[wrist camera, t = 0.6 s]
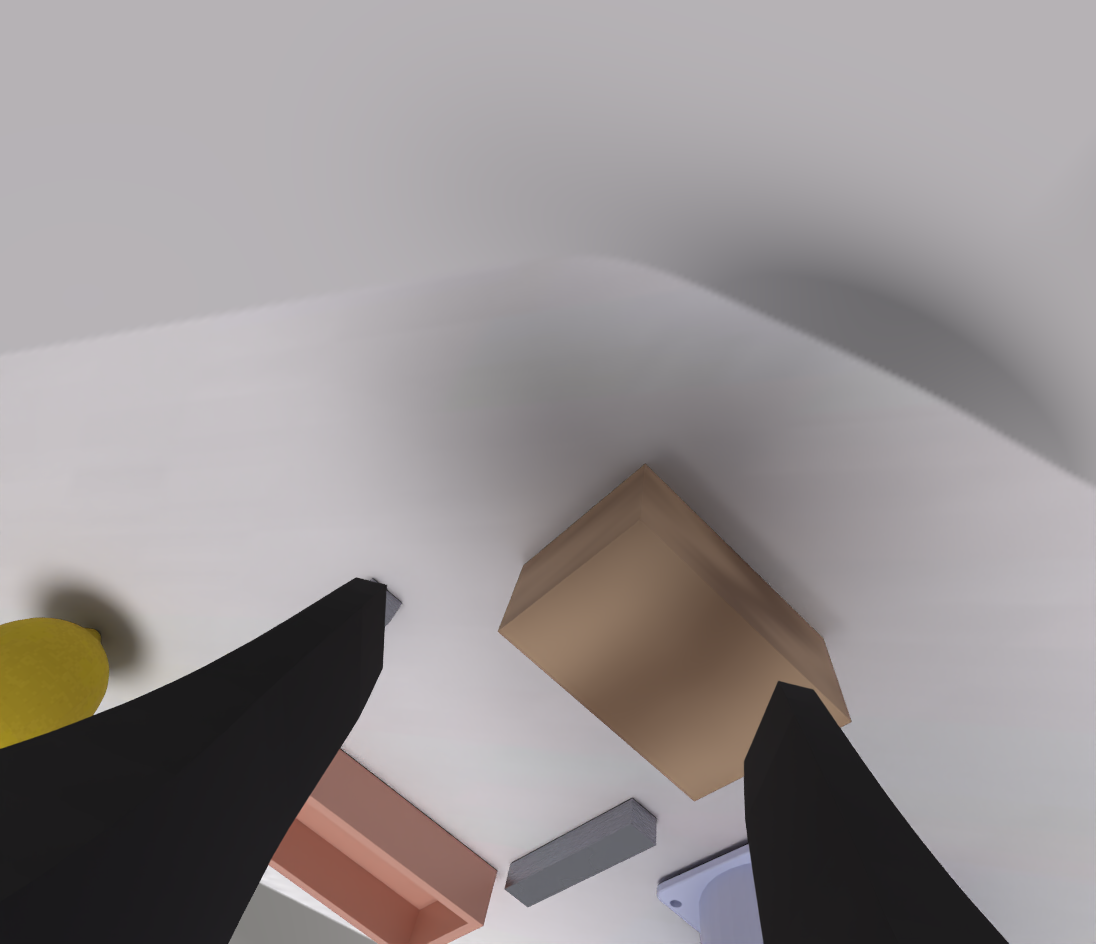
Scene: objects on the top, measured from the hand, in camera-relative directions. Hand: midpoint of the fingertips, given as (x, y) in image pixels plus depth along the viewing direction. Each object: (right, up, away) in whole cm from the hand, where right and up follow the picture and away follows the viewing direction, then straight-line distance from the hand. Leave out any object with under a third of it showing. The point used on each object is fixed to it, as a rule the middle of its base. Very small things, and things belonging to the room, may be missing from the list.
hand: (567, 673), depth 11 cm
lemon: (-21, -4, +17) cm, 27 cm away
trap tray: (-9, -13, +19) cm, 25 cm away
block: (+4, -1, +11) cm, 12 cm away
